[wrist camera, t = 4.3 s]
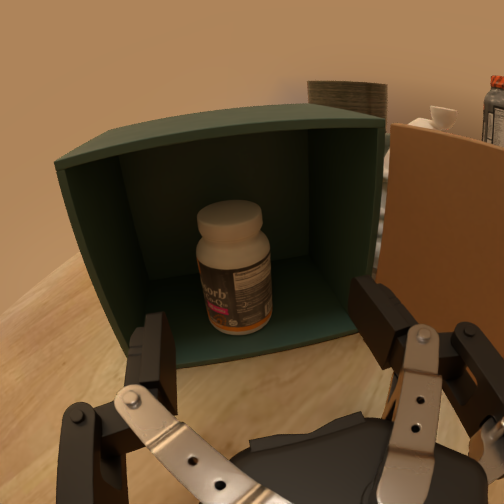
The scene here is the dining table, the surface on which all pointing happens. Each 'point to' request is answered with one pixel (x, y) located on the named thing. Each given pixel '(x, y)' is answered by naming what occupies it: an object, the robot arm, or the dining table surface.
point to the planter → (350, 96)
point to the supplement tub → (494, 113)
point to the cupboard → (221, 189)
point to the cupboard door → (445, 230)
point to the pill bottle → (235, 266)
